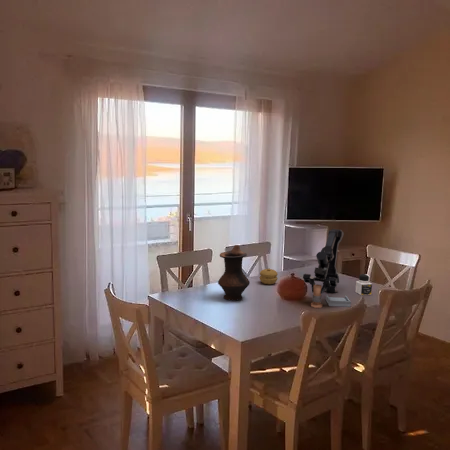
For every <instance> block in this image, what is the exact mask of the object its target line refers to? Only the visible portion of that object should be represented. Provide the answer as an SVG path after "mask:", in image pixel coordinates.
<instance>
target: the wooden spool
mask: <svg viewBox="0 0 450 450" xmlns="http://www.w3.org/2000/svg"><path fill="white" fill-rule="evenodd" d="M322 286H323V284H316V283H315V285H314V289H313V293H312V302H311V303H310V307H311V308H316V309H320V308H321V309H322V308H323V303H322V294H321V289H322Z"/></svg>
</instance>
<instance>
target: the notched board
mask: <svg viewBox="0 0 450 450" xmlns="http://www.w3.org/2000/svg"><path fill="white" fill-rule="evenodd" d="M325 301H326V303H327V304H328V306H329V307H345V308H347V307H350V308H351V305H352V301H351V300H350V299H349V297H348V296H347V295H344V297H330V296H329V294H326V295H325Z"/></svg>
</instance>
